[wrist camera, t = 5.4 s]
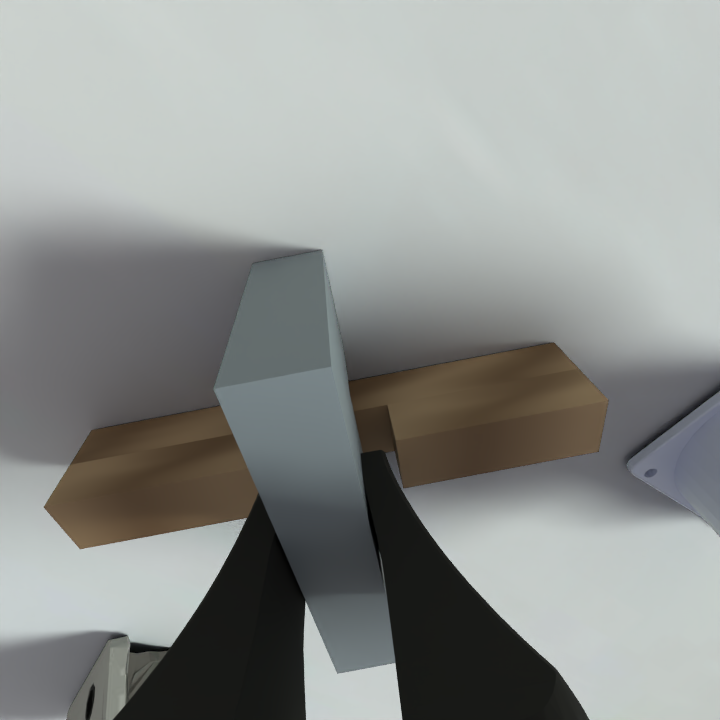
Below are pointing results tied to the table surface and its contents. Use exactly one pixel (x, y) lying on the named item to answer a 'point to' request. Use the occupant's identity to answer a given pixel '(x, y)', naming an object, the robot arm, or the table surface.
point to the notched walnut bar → (376, 432)
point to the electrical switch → (113, 681)
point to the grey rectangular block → (307, 451)
